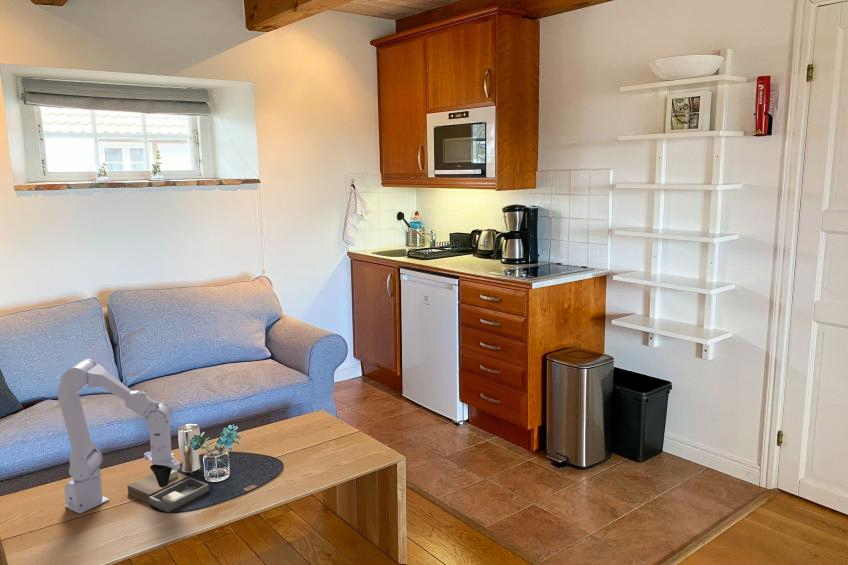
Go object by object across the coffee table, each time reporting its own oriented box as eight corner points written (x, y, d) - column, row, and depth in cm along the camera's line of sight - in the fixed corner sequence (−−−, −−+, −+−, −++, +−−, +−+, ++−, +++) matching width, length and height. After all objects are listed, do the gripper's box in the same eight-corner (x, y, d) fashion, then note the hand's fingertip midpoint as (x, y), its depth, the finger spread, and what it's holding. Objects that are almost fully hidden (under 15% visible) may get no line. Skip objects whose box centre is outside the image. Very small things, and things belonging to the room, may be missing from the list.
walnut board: (150, 503, 197) (149, 494, 197) (128, 494, 203) (127, 485, 203) (188, 484, 209) (188, 476, 208) (166, 476, 215) (166, 467, 214)
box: (168, 512, 192) (167, 505, 192) (149, 504, 197) (148, 497, 196) (209, 491, 205) (208, 484, 204) (190, 484, 209) (190, 477, 209)
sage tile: (165, 481, 205) (165, 476, 204) (156, 478, 207) (156, 472, 207) (177, 476, 208) (177, 470, 208) (168, 472, 211) (168, 467, 210)
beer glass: (175, 471, 218) (173, 429, 216) (192, 463, 224) (189, 422, 222) (190, 476, 215) (187, 433, 212) (206, 468, 221) (204, 426, 218)
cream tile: (162, 497, 196) (162, 503, 197) (171, 501, 194) (172, 507, 194) (174, 491, 200) (175, 497, 201) (184, 494, 198) (184, 501, 198)
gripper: (187, 445, 196) (190, 486, 199) (157, 434, 204) (159, 474, 206) (167, 453, 190) (170, 496, 193) (136, 442, 198) (140, 483, 200)
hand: (163, 486), depth 199 cm, fingers closed
